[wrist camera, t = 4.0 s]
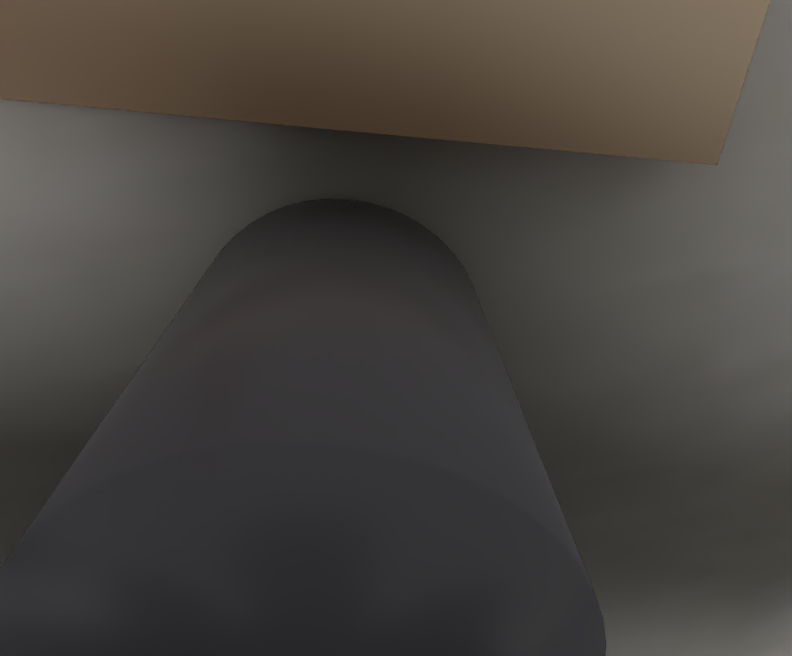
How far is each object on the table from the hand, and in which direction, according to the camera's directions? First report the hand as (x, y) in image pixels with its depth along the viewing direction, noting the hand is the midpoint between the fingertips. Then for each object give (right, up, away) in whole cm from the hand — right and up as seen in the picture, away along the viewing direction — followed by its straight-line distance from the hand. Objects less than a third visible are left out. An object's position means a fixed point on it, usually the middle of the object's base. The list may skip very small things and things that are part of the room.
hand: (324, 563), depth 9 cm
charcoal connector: (0, -1, +2) cm, 2 cm away
